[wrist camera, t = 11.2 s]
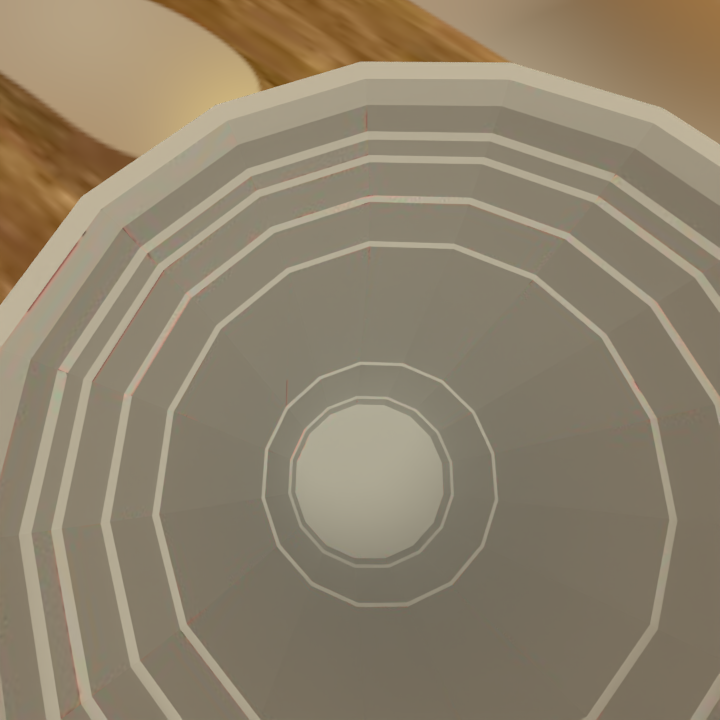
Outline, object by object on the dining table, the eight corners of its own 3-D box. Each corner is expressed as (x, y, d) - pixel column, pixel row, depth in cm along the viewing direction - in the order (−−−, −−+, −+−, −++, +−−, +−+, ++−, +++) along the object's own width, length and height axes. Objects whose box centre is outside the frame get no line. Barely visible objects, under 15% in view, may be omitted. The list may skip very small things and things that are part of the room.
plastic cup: (258, 309, 17) (118, -65, 5) (522, 368, 17) (921, 124, 6) (166, 610, 14) (-648, 1233, 2) (491, 681, 14) (1293, 1611, 2)
